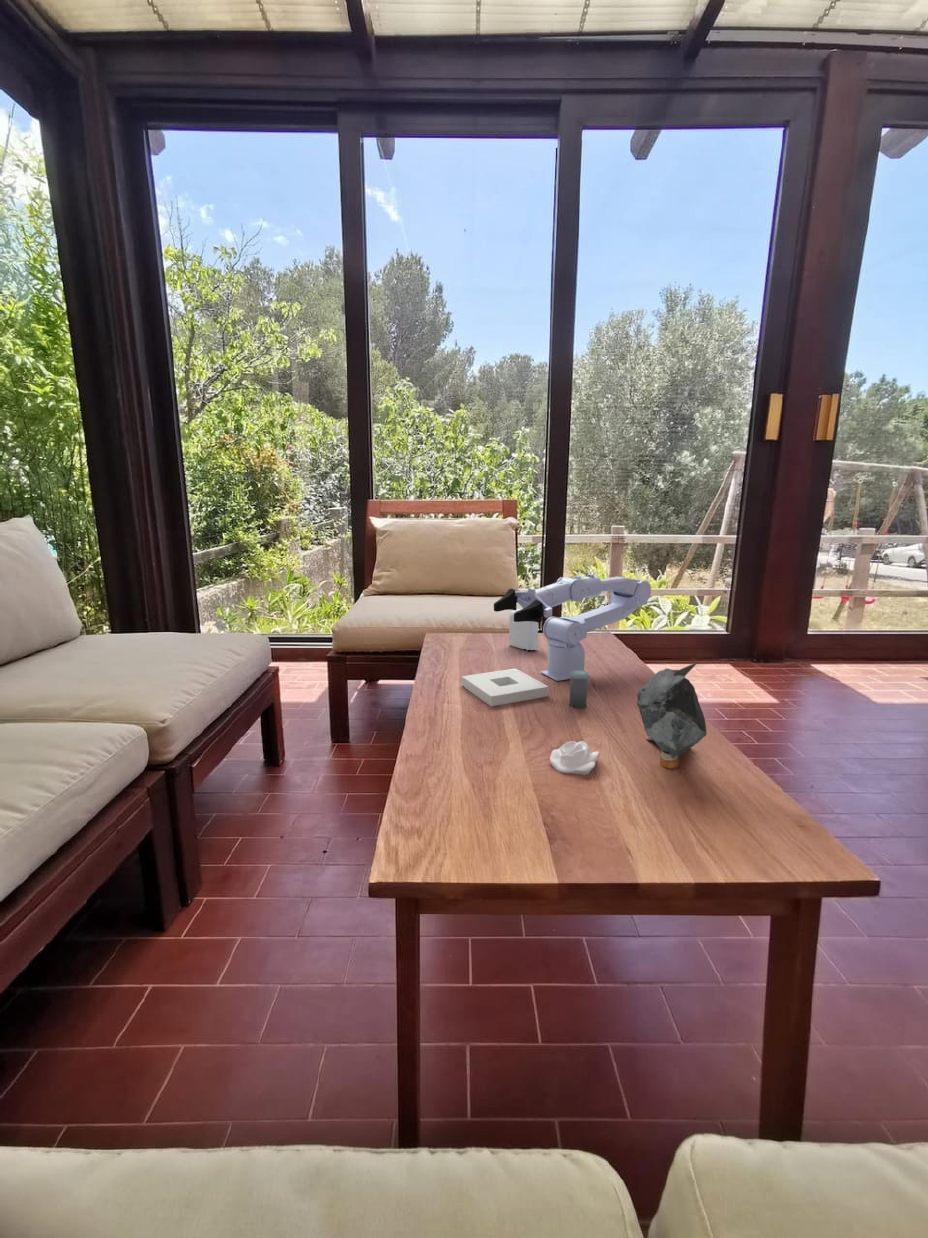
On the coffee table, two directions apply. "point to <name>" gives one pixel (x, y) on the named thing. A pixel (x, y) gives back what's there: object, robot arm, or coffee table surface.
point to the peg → (578, 689)
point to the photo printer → (523, 633)
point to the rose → (574, 758)
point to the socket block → (504, 687)
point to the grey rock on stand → (671, 714)
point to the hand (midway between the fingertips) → (504, 612)
